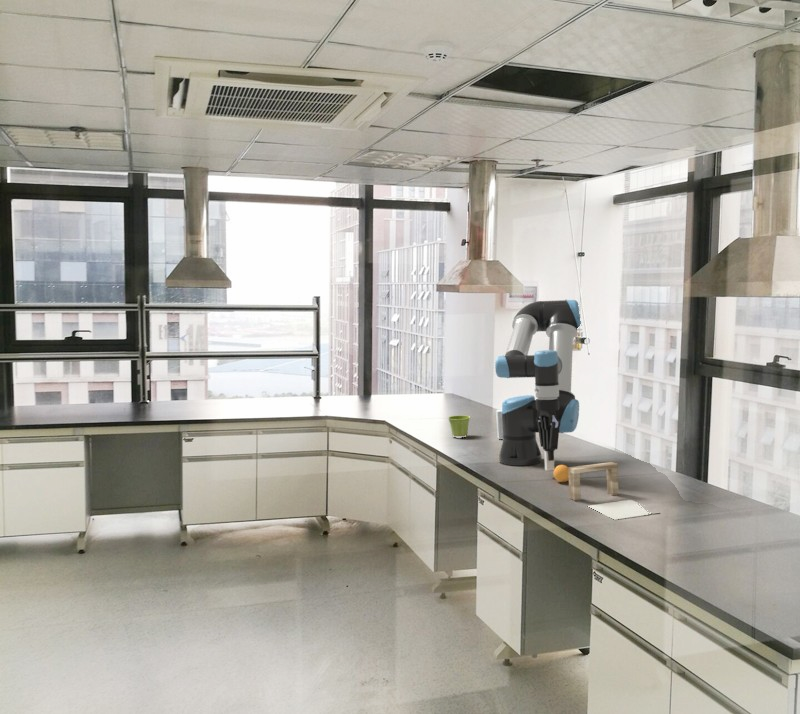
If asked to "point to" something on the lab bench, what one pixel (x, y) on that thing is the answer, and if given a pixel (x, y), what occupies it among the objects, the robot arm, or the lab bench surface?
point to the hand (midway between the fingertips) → (549, 469)
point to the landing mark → (620, 509)
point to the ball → (561, 473)
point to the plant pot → (459, 425)
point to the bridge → (575, 471)
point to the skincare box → (499, 424)
